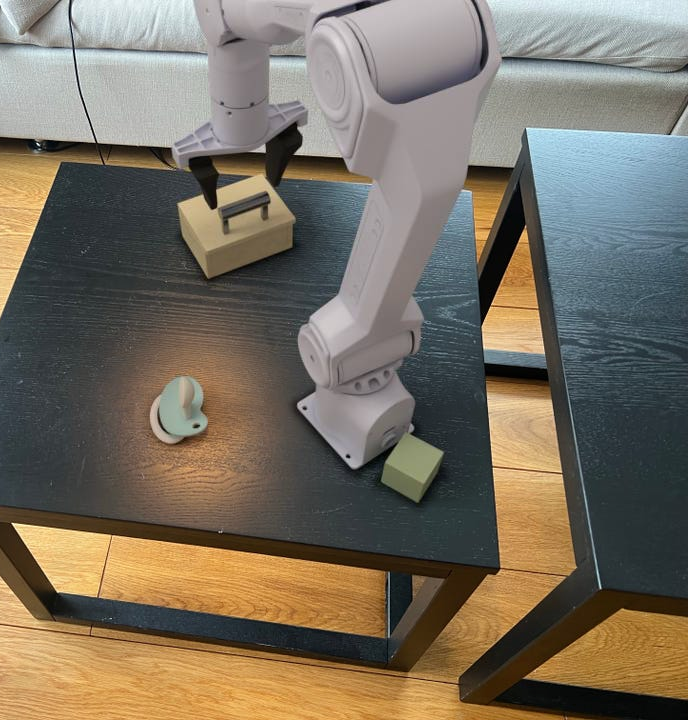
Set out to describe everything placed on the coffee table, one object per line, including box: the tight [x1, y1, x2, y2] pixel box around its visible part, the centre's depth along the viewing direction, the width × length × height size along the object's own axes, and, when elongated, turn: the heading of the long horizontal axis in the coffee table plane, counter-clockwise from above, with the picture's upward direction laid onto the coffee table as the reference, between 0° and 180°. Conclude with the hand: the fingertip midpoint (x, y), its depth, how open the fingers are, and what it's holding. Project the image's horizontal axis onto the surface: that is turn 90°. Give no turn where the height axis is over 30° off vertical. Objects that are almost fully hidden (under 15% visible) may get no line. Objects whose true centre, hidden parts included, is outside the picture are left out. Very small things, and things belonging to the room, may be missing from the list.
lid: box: [177, 173, 297, 255], centre depth 89 cm, size 9×11×4 cm
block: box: [380, 432, 445, 504], centre depth 72 cm, size 4×4×4 cm
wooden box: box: [177, 207, 294, 279], centre depth 93 cm, size 8×11×5 cm
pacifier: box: [149, 375, 208, 445], centre depth 77 cm, size 7×6×6 cm
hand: (241, 192), depth 84 cm, fingers open, 7 cm apart
